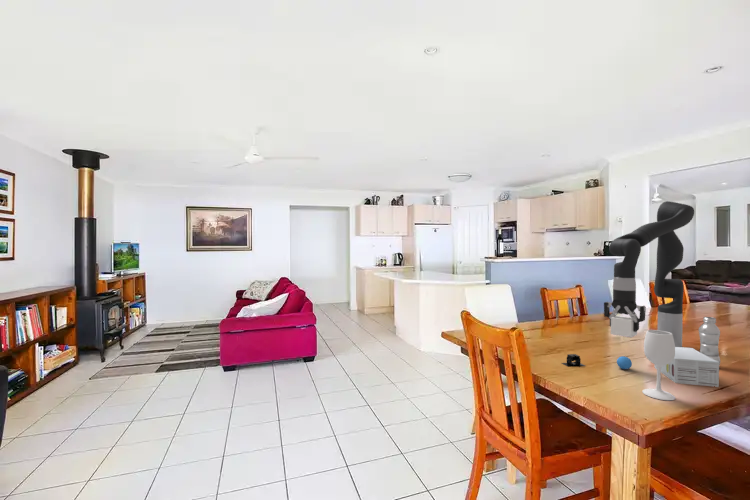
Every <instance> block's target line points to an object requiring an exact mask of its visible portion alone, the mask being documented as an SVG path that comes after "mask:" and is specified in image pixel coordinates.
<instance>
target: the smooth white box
mask: <svg viewBox="0 0 750 500" xmlns="http://www.w3.org/2000/svg"><path fill="white" fill-rule="evenodd" d="M633 325H634V321H633V319H632V318H631V317H630V316H623V315H616V316H614V317H612V318H611V327H610V335H614V336H620V337H627V338H633V337H636V336H637V335H638V331H637V332H634V331H633Z"/></svg>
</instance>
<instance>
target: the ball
mask: <svg viewBox="0 0 750 500" xmlns="http://www.w3.org/2000/svg"><path fill="white" fill-rule="evenodd" d="M616 365H617V366H618V368H620V369H622V370H629V369H630V368H632V366H633V361H632V360H631V359H630V358H629V357H628V356H619V357H618V358H617V359H616Z"/></svg>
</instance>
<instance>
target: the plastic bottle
mask: <svg viewBox="0 0 750 500" xmlns="http://www.w3.org/2000/svg"><path fill="white" fill-rule="evenodd" d="M702 319H703V320H702V322H703V323H702V324H700V326H699V327H698V335H699V342H700V344H699V345H700V346H699V347H700V348H699V352H700V353H702V354H704V355H706V356H708V357H710V358H712V359H714V360H716V361H718V362H719V366H721V357H720V353H719V342H720V341H719V340H720V336H721V331H720V328H719V327H718V326H717V325H716V323H717V318H716V317H711V316H703V318H702Z"/></svg>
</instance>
